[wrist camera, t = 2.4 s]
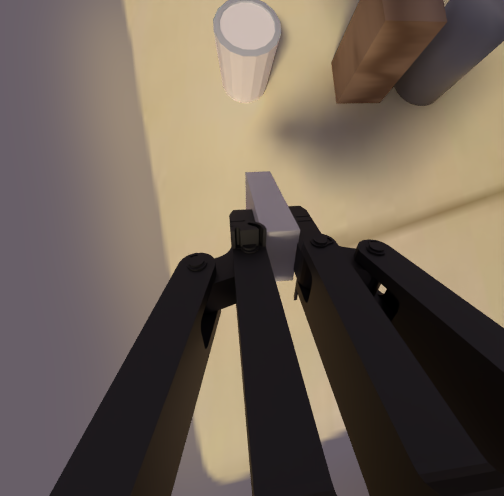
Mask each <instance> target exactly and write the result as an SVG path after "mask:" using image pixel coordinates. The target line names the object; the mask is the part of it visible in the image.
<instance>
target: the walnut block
mask: <svg viewBox="0 0 504 496" xmlns="http://www.w3.org/2000/svg"><path fill="white" fill-rule="evenodd" d="M446 23H447V17H446V12H445V7H444V2H443V0H360V1H359V3H358V5H357V7H356V10H355V12H354V14H353V16H352V18H351V21H350V23H349V25H348V27H347V29H346V32H345V34H344V36H343V38H342V41H341V43H340V45H339V47H338V49H337V52H336V54H335V56H334V58H333V60H332V63H331V64H332V72H333V79H334V87H335V95H336V103H380V102H381V101H382V100H383V98H384V97H385V96H386V95H387V94H388V92H389V91H390V90H391V89H392V88H393V86H394V85H395V84H396V83H397V82H398V80H399V79H400V78H401V77H402V76H403V74H404V73H405V72H406V71H407V70H408V68H409V67H410V66H411V65H412V64H413V62H414V61H415V60H416V59H417V58H418V56H419V55H420V54H421V53H422V52H423V50H424V49H425V48H426V47H427V46H428V44H429V43H430V42H431V41H432V40H433V38H434V37H435V36H436V35H437V34H438V32H439V31H440V30H441V29H442V28H443V26H444V25H445V24H446Z"/></svg>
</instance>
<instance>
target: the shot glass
mask: <svg viewBox="0 0 504 496" xmlns="http://www.w3.org/2000/svg"><path fill="white" fill-rule="evenodd" d="M213 23H214V35H215V41H216V47H217V53H218V59H219V65H220V71H221V77H222V83H223V88H224V90H225V92H226V94H227V95H228V96H229V97H231V98H232V99H233V100H235V101H238V102H240V103H251V102H254V101H256V100H258V99H259V98H260V97H261V96H262V95H263V94H264V91H265V88H266V85H267V82H268V78H269V75H270V71H271V68H272V64H273V61H274V57H275V54H276V50H277V47H278V43H279V39H280V36H281V24H280V20H279V18H278V16H277V15H276V13H275V11H274V10H273V9H272V8H271V7H269V6H268V5H267V4H266V3H265V2H262V1H260V0H228V1H226V2H225V3H224V4H223V5H222V6H221V7H219V8H218V10H217V12H216V14H215V17H214V19H213Z"/></svg>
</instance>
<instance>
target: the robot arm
mask: <svg viewBox="0 0 504 496" xmlns="http://www.w3.org/2000/svg"><path fill="white" fill-rule="evenodd" d="M245 175H246V210H233V211H232V212H231V214H230V215H229V217H230V232H231V245H232V247H231V249H230V251H229V252H228V253H226V254H225V255H223V256H220V257H218V258H213V257H212V256H211V255H209V254H206V253H194V254H191V255H188V256H186V257H185V258H183V259H182V260H181V261H180V262H179V264H178V266H177V268H176V269H175V271H174V273H173V275H172V277H171V278H170V280H169V282H168V284H167V286H166V288H165V289H164V291H163V293H162V295H161V296H160V298H159V300H158V302H157V304H156V305H155V307H154V309H153V311H152V312H151V314H150V316H149V318H148V320H147V321H146V323H145V325H144V327H143V329H142V331H141V332H140V334H139V336H138V338H137V339H136V341H135V343H134V345H133V347H132V348H131V350H130V352H129V354H128V355H127V357H126V359H125V361H124V363H123V364H122V366H121V368H120V370H119V372H118V373H117V375H116V377H115V379H114V381H113V382H112V384H111V386H110V388H109V390H108V391H107V393H106V395H105V397H104V398H103V400H102V402H101V404H100V406H99V407H98V409H97V411H96V413H95V415H94V417H93V418H92V420H91V422H90V424H89V425H88V427H87V429H86V431H85V433H84V434H83V436H82V438H81V440H80V442H79V443H78V445H77V447H76V449H75V450H74V452H73V454H72V456H71V458H70V459H69V461H68V463H67V465H66V467H65V468H64V470H63V472H62V474H61V476H60V478H59V479H58V481H57V483H56V485H55V486H54V489H53V490H52V492H51V494H50V496H171V493H172V490H173V486H174V483H175V479H176V475H177V472H178V468H179V464H180V460H181V457H182V453H183V449H184V445H185V442H186V438H187V435H188V431H189V427H190V423H191V420H192V416H193V413H194V409H195V405H196V402H197V398H198V394H199V391H200V387H201V383H202V380H203V376H204V372H205V369H206V365H207V361H208V358H209V354H210V350H211V347H212V343H213V339H214V336H215V332H216V328H217V325H218V321H219V317H220V314H221V309H223V308H226V307H228V306H231V305H233V304H236V308H237V320H238V332H239V344H240V356H241V367H242V379H243V391H244V403H245V415H246V427H247V439H248V451H249V463H250V474H251V486H252V496H337V495H336V492H335V490H334V487H333V484H332V481H331V478H330V474H329V471H328V467H327V463H326V460H325V456H324V453H323V449H322V445H321V442H320V438H319V434H318V431H317V427H316V424H315V420H314V417H313V413H312V409H311V406H310V402H309V399H308V395H307V392H306V388H305V384H304V381H303V377H302V374H301V370H300V367H299V363H298V359H297V356H296V352H295V349H294V345H293V342H292V338H291V334H290V331H289V327H288V324H287V320H286V317H285V313H284V309H283V306H282V302H281V299H280V295H279V292H278V288H277V284H276V281H288V280H293V275H294V272H295V275H296V277H297V281H296V287H295V293H294V300H297V295H299V298H300V301H301V304H302V307H303V309H304V312H305V315H306V318H307V321H308V323H309V326H310V329H311V332H312V335H313V337H314V340H315V343H316V346H317V349H318V351H319V354H320V357H321V360H322V363H323V365H324V368H325V371H326V374H327V377H328V379H329V382H330V385H331V388H332V391H333V393H334V396H335V399H336V402H337V405H338V407H339V410H340V413H341V416H342V419H343V422H344V424H345V427H346V430H347V433H348V436H349V438H350V441H351V444H352V447H353V450H354V452H355V455H356V458H357V461H358V463H359V466H360V469H361V472H362V475H363V478H364V480H365V483H366V486H367V489H368V492H369V495H370V496H504V328H503V327H501V326H500V325H499V324H497V323H496V322H494V321H493V320H492V319H490V318H489V317H487V316H486V315H485V314H483V313H482V312H481V311H479V310H478V309H476V308H475V307H474V306H472V305H471V304H469V303H468V302H467V301H465V300H464V299H462V298H461V297H460V296H458V295H457V294H455V293H454V292H453V291H451V290H450V289H448V288H447V287H446V286H444V285H443V284H441V283H440V282H439V281H437V280H436V279H434V278H433V277H432V276H430V275H429V274H428V273H426V272H425V271H423V270H422V269H421V268H419V267H418V266H416V265H415V264H414V263H412V262H411V261H409V260H408V259H407V258H405V257H404V256H402V255H401V254H400V253H398V252H397V251H395V250H394V249H393V248H391V247H390V246H388V245H387V244H385V243H383V242H380V241H377V240H363V241H361V242H359V244H358V245H357V248H356V249H355V248H347V247H341V246H338V244H337V243H336V241H335V240H334V239H333V238H331V237H329V236H327V235H324V234H321V232H320V231H319V229H318V228H317V226H316V224H315V223H314V221H313V220H312V218H311V217H310V215H309V213H308V212H307V210H305V209H304V208H302V207H301V206H288V205H287V203H286V201H285V200H284V198H283V196H282V194H281V192H280V190H279V188H278V186H277V184H276V182H275V180H274V178H273V176H272V174H271V173H270V171H267V172H245ZM381 284H382V285H383V286H384V287H385V288H387V290H386V292H385V294H383V293H381V292H380V291H379V290H378V289H379V287H380V285H381Z"/></svg>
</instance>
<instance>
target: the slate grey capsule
mask: <svg viewBox="0 0 504 496" xmlns="http://www.w3.org/2000/svg"><path fill="white" fill-rule="evenodd" d="M445 12H446V17H447V23H446V24H445V25H444V26H443V28H442V29H441V30H440V31H439V32H438V34H437V35H436V36H435V37H434V38H433V40H432V41H431V42H430V43H429V44H428V46H427V47H426V48H425V49H424V50H423V52H422V53H421V54H420V55H419V56H418V58H417V59H416V60H415V61H414V62H413V64H412V65H411V66H410V67H409V68H408V70H407V71H406V72H405V73H404V74H403V76H402V77H401V78H400V79H399V80H398V82H397V83H396V84H395V88H396V90H397V92H398V93H399V95H400V96H401V97H402V98H403V99H404V100H406V101H407V102H409V103H411V104H414V105H418V106H425V105H429V104H431V103H433V102H435V101H436V100H437V99H438V98H439V97H440V96H441V95H443V94H444V93H445V92H446V91H447V90H448V89H449V88H451V87H452V86H453V85H454V84H455V83H456V82H457V81H459V80H460V79H461V78H462V77H463V76H464V75H465V74H467V73H468V72H469V71H470V70H471V69H472V68H473V67H475V66H476V65H477V64H478V63H479V62H480V61H481V60H483V59H484V58H485V57H486V56H487V55H488V54H489V53H491V52H492V51H493V50H494V49H495V48H496V47H497V46H499V45H500V44H501V43H502V42H503V41H504V0H450V1H449V2H448V3H447V4H446V6H445Z"/></svg>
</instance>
